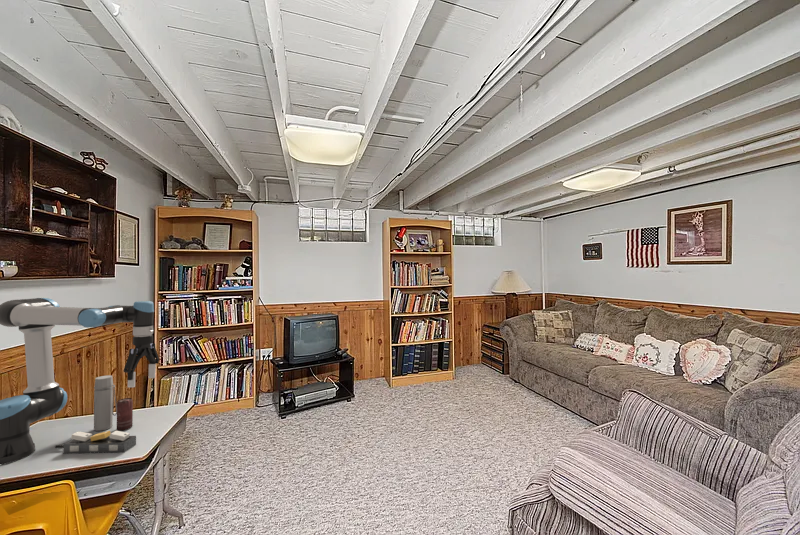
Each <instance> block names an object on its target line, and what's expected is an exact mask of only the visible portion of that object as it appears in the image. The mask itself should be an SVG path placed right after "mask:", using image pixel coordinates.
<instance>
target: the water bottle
mask: <svg viewBox="0 0 800 535" xmlns="http://www.w3.org/2000/svg"><path fill="white" fill-rule="evenodd" d="M113 379H114V378H113V375H102V376H97V377H95V379H94V380H95V381H94V387H93V389H94V390H93V396H94V397H93V431H94V432H102V431H103V432H104V431H106V430H109V429H111V428H112V427H113V416H114V417H115V416H117V398H116V397H117V396H116V384H114V380H113ZM114 402H115V406H114ZM114 407H115V409H116V410H115V414H114Z"/></svg>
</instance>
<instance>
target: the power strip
mask: <svg viewBox="0 0 800 535" xmlns="http://www.w3.org/2000/svg"><path fill="white" fill-rule="evenodd" d="M136 445H137V435H129V438H127V439H125V440H124V441H122V440H117V439H112V438H110V436H108V437H106V438H104V439H99V440H95V441H91V439H89V440H87V441H80V440H75V439H70V440H69V441H67V442H65V443H63V444H56V445H55V446H54V448H55V449H62V450H63V452H62V453H63V455H76V454H77V455H79V454H82V455H83V454H84V455H85V454H86V455H87V454H88V455H89V454H125V453H126V452H128V451H129V450H130V449H132V448H133V447H135V446H136Z"/></svg>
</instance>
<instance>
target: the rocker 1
mask: <svg viewBox="0 0 800 535" xmlns="http://www.w3.org/2000/svg"><path fill="white" fill-rule="evenodd" d="M92 436H93V433H91V432H90V433H89V432H84V431H76V432H74V433H72V434H71V437H70V440H73V439H75V440H80V441H87V440H89V439H90V437H92Z"/></svg>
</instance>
